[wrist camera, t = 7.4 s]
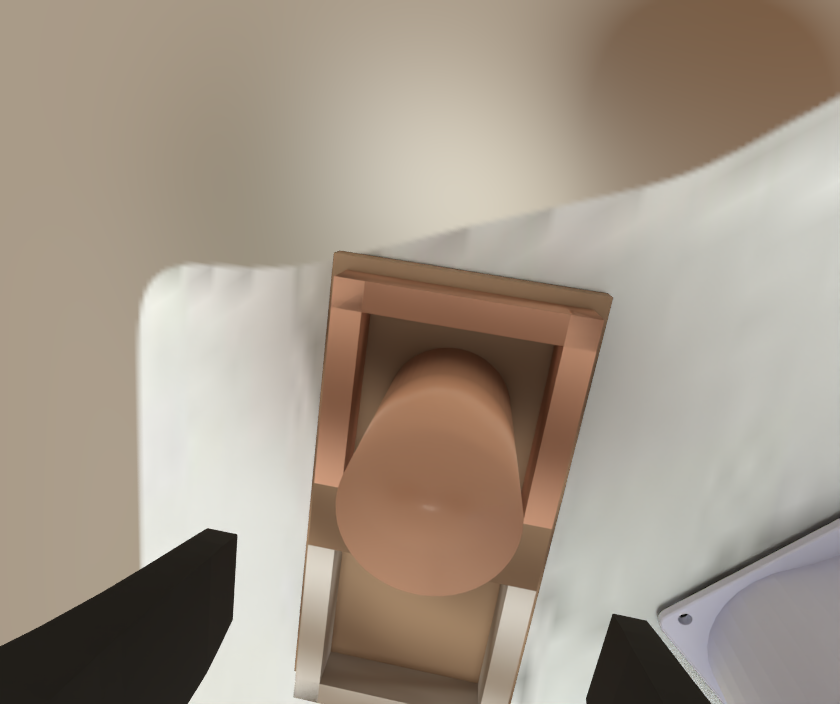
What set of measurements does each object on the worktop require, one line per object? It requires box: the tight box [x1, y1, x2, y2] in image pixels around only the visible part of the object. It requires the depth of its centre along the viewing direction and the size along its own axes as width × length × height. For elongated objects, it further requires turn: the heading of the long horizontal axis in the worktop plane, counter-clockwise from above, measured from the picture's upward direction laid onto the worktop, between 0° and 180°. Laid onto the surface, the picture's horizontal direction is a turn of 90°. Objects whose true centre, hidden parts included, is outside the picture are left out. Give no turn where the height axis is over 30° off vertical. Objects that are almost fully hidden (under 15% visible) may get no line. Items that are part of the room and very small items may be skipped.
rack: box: [294, 251, 613, 704], centre depth 20 cm, size 18×9×2 cm, turn 172°
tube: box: [336, 348, 524, 596], centre depth 16 cm, size 4×4×7 cm
